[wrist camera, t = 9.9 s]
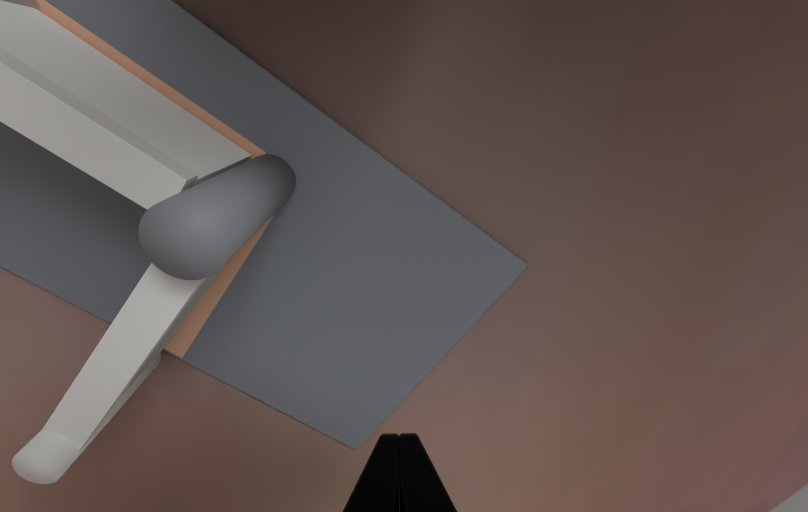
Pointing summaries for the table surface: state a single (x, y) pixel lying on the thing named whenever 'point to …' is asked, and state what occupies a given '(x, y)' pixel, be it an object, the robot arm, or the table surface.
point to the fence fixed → (136, 144)
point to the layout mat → (262, 236)
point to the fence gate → (111, 373)
